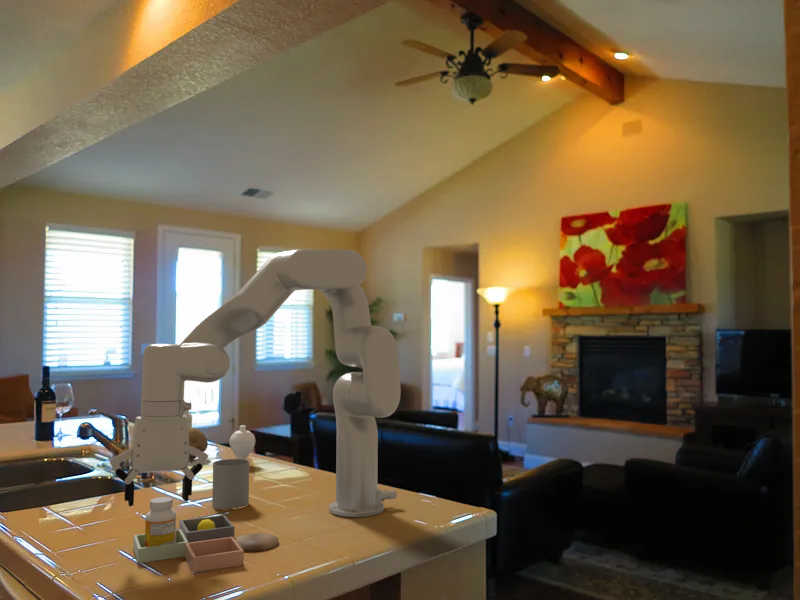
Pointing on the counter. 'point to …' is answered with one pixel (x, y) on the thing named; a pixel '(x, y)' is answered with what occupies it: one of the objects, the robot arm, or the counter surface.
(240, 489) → the cup
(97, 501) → the counter surface
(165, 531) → the supplement bottle
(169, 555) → the bin sage
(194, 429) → the brown potato
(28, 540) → the counter surface
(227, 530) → the bin charcoal
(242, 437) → the spinning top
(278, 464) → the counter surface
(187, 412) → the supplement bottle
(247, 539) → the coaster
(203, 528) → the light bulb
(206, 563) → the bin terracotta
